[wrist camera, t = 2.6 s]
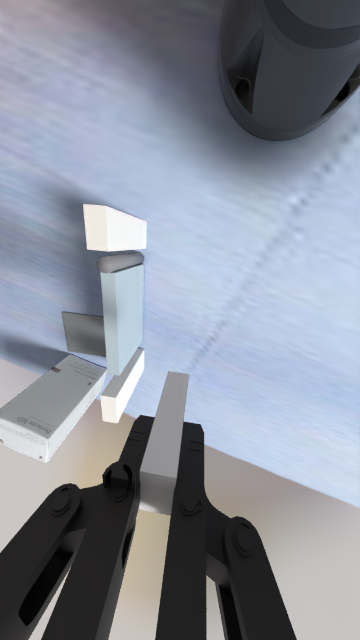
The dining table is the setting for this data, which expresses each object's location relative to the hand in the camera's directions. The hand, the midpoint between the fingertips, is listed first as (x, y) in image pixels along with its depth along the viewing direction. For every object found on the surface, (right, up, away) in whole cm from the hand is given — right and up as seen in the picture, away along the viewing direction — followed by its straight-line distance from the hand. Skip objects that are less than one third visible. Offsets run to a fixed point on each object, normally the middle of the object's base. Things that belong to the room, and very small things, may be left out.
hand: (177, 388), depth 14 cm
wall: (-7, +7, +18) cm, 20 cm away
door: (-7, +8, +17) cm, 20 cm away
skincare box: (-19, -5, +25) cm, 31 cm away
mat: (-17, +2, +21) cm, 27 cm away
